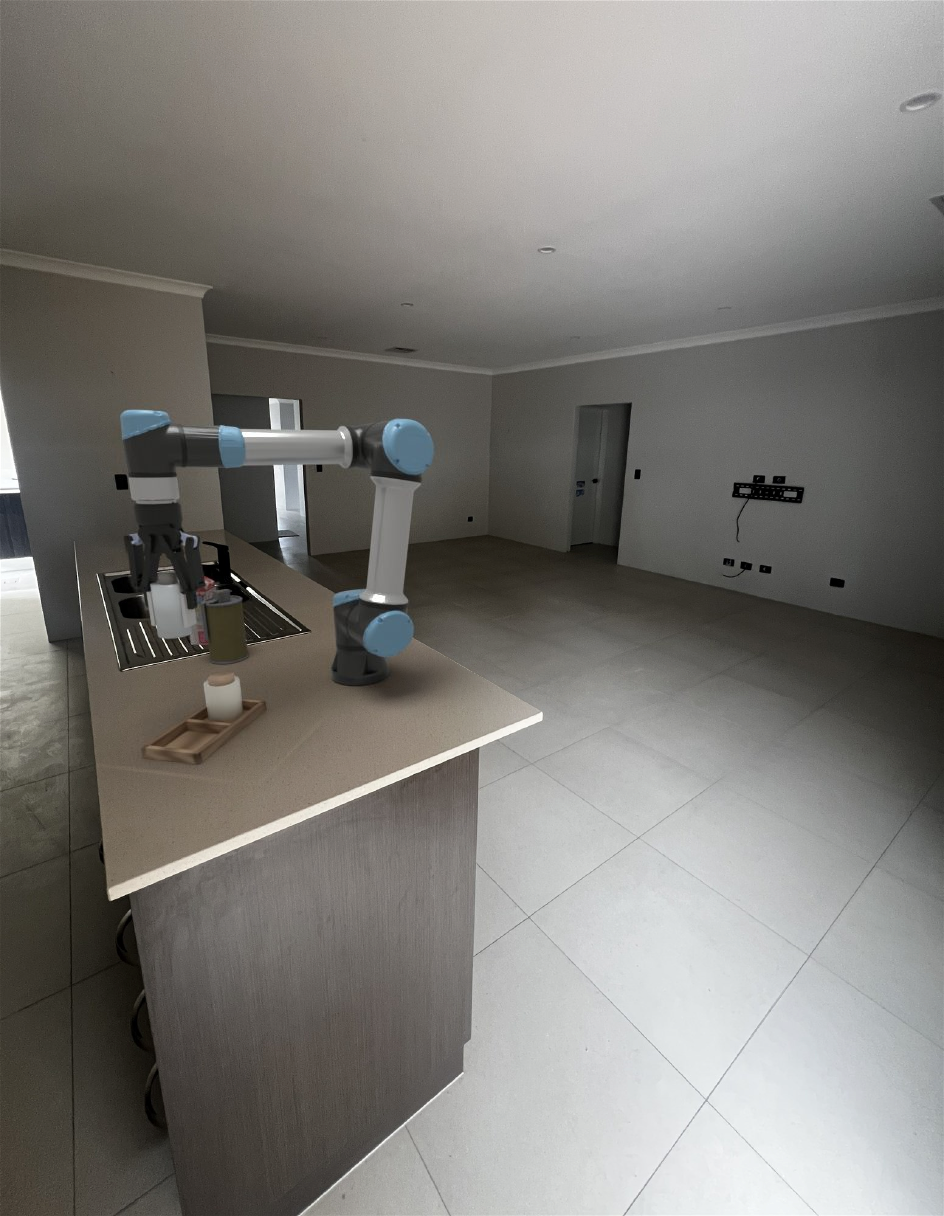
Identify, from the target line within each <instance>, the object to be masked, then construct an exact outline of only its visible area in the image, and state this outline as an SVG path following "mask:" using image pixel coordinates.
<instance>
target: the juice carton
mask: <svg viewBox="0 0 944 1216" xmlns="http://www.w3.org/2000/svg"><path fill="white" fill-rule="evenodd" d="M204 579H205V584H206V586H205V587H204V588H201V589H198V590H197V591H196V596H197V603H198V606H197V608H195V614H196V622H197V623H196V624H194V625H193V633H192V634H190V635H189V640H190V645H191V646H192V645H193V646H197V645H199V646H202V645H204V646H205V645H207V646H208V641H206V640H205V635H204V627H203V620H202V613H201V605H200V603H201V602H202V601H203V600H205V599H208V598H211V597H212V596H213V591H216V581H215V580H213V579H212V578H209V577H208V576H205V575H204Z"/></svg>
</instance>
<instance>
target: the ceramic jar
mask: <svg viewBox="0 0 944 1216" xmlns="http://www.w3.org/2000/svg"><path fill="white" fill-rule="evenodd" d="M241 690H242V688H241V681H240V678H239V676H236V675H235V673H234V672H232V671H220V672H219V671H218V672H215V673H212V674H210V675H209V676H207V680H205V681H204V682H203V692H204V699H205V705H206V706H207V713H208V720H209V721H214V722H223V723H233V722H235V721H236V720H237V719H238V718H240V717H241V716H242V715H244V713H243V705H242V699H243V697H242V691H241Z"/></svg>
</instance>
